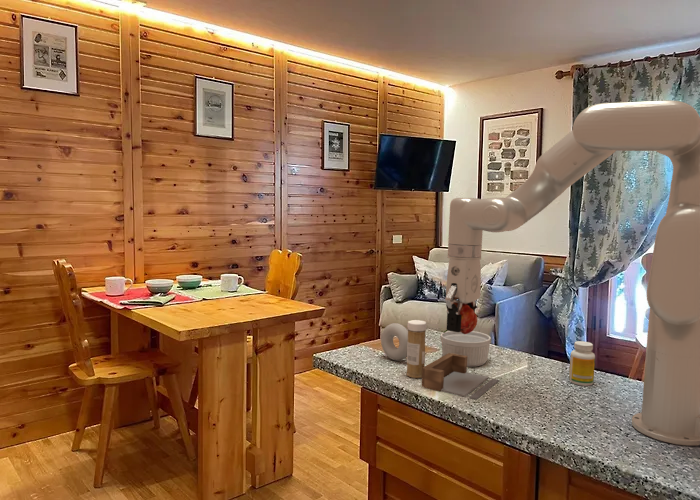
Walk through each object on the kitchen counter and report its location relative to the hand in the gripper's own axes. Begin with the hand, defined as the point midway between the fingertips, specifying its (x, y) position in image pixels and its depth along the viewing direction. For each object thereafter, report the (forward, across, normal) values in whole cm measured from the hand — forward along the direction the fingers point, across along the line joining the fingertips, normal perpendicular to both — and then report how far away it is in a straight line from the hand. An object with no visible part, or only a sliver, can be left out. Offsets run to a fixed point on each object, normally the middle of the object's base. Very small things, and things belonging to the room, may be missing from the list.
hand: (460, 327), depth 120 cm
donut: (+14, +7, +21) cm, 26 cm away
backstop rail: (+14, +1, +3) cm, 14 cm away
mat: (+13, 0, 0) cm, 13 cm away
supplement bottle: (+13, +19, -23) cm, 33 cm away
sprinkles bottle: (+14, -1, +11) cm, 17 cm away
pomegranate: (+2, 0, 0) cm, 2 cm away
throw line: (+13, 0, -6) cm, 15 cm away
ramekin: (+14, +18, +6) cm, 23 cm away
